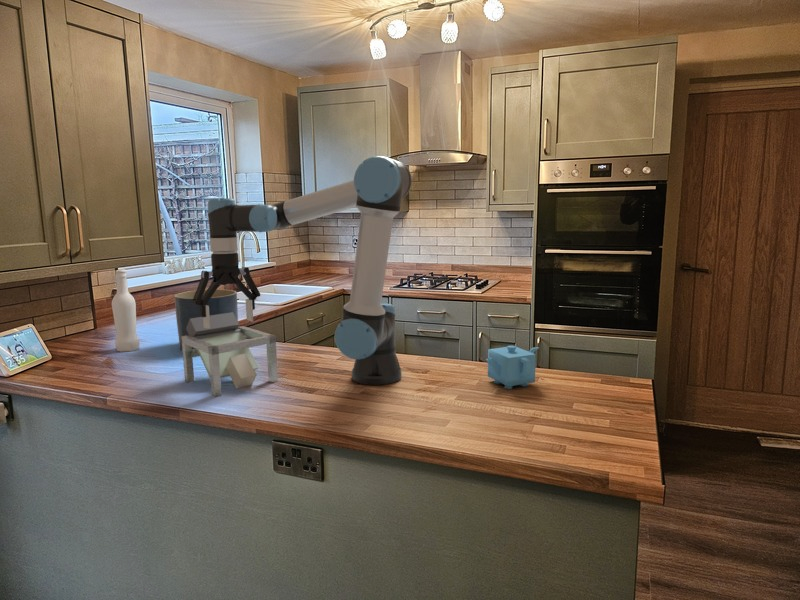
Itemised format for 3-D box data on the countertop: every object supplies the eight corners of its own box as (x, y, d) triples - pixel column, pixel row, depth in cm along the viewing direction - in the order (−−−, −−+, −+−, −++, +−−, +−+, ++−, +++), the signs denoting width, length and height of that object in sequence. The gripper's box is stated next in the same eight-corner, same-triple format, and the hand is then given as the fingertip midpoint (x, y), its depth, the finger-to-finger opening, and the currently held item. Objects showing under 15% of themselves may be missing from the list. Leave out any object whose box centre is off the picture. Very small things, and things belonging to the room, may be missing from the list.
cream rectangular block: (245, 353, 165) (256, 374, 161) (241, 363, 168) (252, 384, 164) (229, 356, 161) (241, 378, 158) (225, 367, 164) (236, 388, 161)
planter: (238, 337, 225) (235, 288, 222) (241, 350, 204) (237, 296, 201) (180, 341, 218) (176, 291, 215) (176, 355, 198) (172, 300, 194)
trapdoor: (255, 372, 172) (260, 363, 169) (208, 384, 161) (213, 374, 158) (230, 321, 180) (234, 311, 177) (184, 328, 170) (187, 318, 167)
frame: (277, 381, 167) (275, 335, 165) (214, 397, 154) (211, 348, 151) (245, 367, 182) (242, 325, 179) (185, 381, 168) (181, 336, 166)
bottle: (110, 351, 205) (102, 270, 200) (128, 346, 212) (121, 268, 207) (127, 353, 202) (119, 271, 197) (144, 347, 209) (137, 268, 204)
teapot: (472, 380, 166) (472, 343, 164) (522, 372, 173) (523, 337, 171) (502, 396, 151) (503, 356, 149) (555, 387, 158) (557, 349, 156)
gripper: (256, 249, 172) (260, 316, 175) (176, 254, 155) (182, 329, 158) (269, 250, 166) (272, 319, 170) (187, 256, 149) (193, 333, 153)
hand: (229, 324), depth 164 cm, fingers open, 13 cm apart
